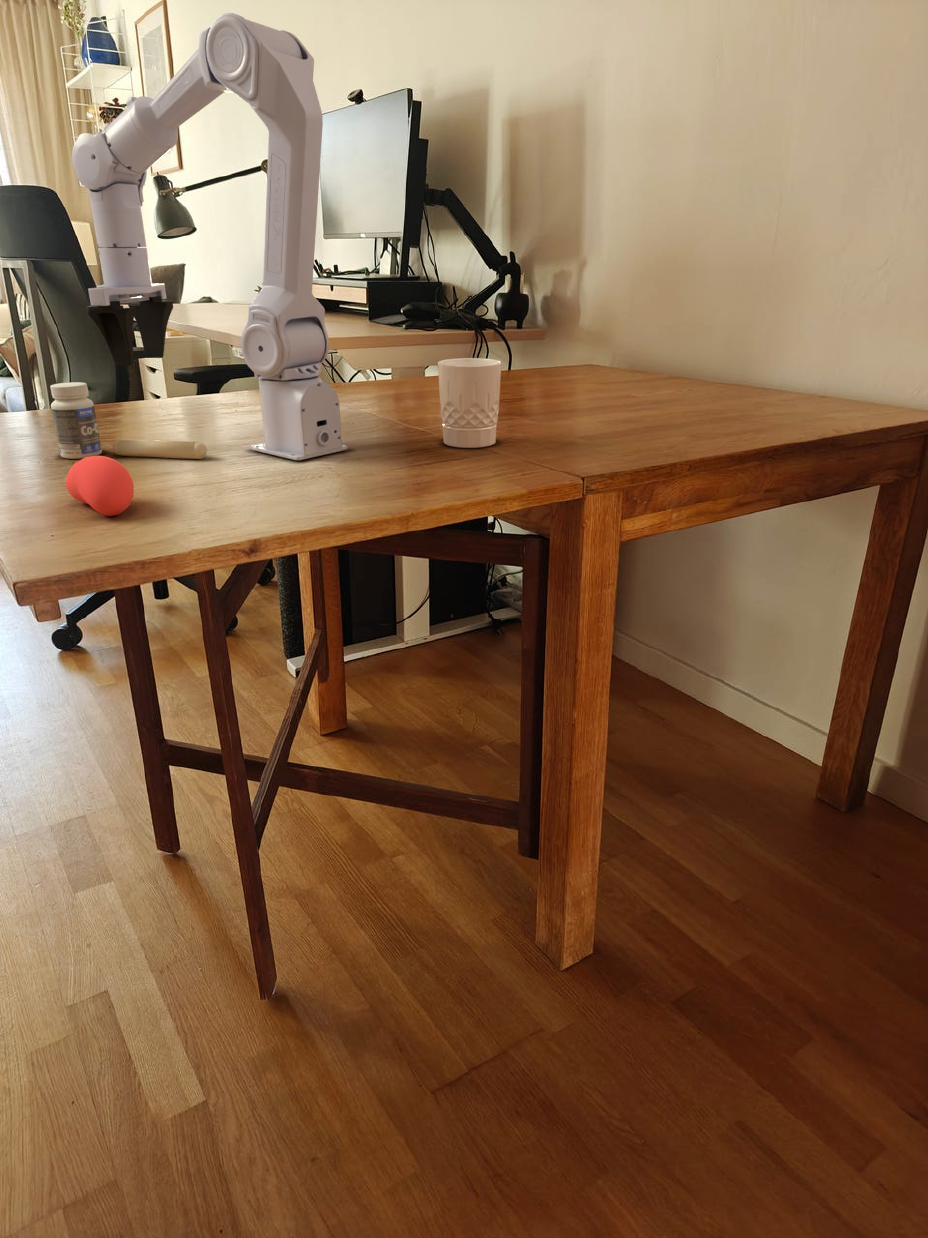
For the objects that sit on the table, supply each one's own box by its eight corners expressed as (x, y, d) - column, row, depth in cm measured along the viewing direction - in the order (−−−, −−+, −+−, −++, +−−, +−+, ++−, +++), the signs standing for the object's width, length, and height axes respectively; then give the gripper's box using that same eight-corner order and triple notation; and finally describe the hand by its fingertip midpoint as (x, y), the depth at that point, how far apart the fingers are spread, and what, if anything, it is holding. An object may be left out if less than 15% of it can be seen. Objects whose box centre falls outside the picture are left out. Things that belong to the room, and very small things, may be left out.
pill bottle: (92, 459, 99) (79, 387, 96) (53, 459, 99) (38, 387, 96) (109, 450, 104) (96, 381, 100) (71, 450, 104) (58, 381, 100)
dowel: (208, 462, 100) (211, 446, 100) (200, 454, 98) (204, 439, 98) (117, 458, 102) (120, 443, 102) (108, 450, 100) (111, 435, 100)
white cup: (506, 438, 109) (507, 358, 105) (492, 451, 102) (493, 366, 98) (449, 434, 111) (448, 357, 107) (431, 447, 104) (429, 364, 100)
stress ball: (139, 506, 86) (103, 452, 84) (152, 494, 78) (112, 434, 76) (93, 532, 84) (55, 477, 82) (102, 522, 76) (59, 461, 74)
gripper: (125, 247, 111) (141, 353, 116) (57, 248, 98) (79, 367, 103) (173, 247, 110) (188, 354, 115) (112, 247, 97) (131, 369, 102)
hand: (140, 361), depth 109 cm, fingers open, 7 cm apart
